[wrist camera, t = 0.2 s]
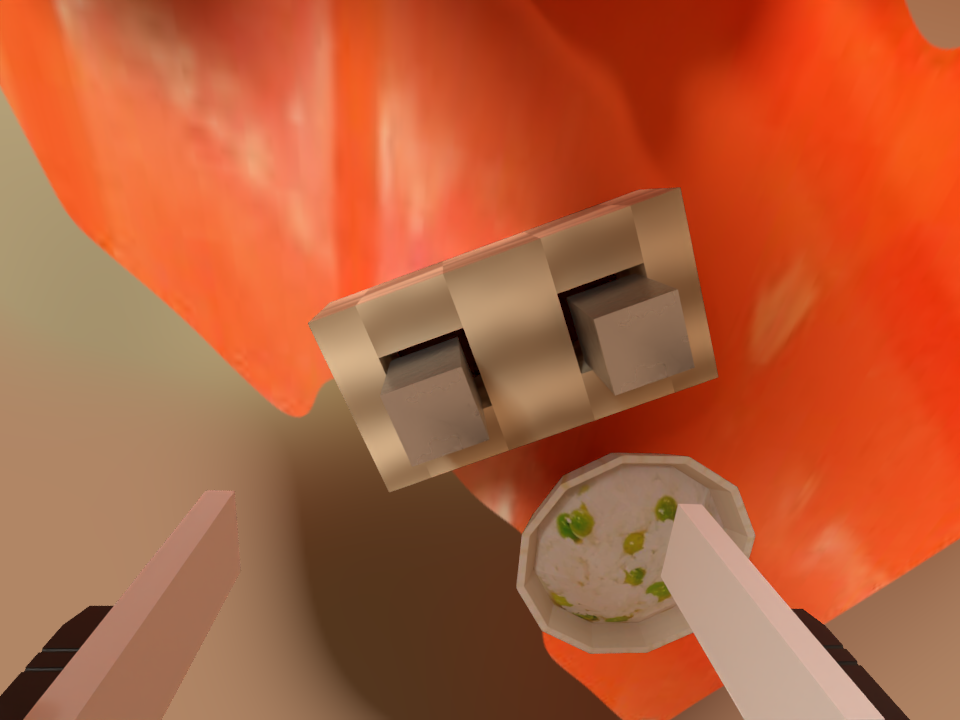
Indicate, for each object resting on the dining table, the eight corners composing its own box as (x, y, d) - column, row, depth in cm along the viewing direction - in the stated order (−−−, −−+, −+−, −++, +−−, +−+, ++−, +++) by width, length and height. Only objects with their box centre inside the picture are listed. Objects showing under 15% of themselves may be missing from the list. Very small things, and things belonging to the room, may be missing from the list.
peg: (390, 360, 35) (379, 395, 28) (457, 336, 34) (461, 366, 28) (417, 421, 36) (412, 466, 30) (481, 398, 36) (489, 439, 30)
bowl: (520, 597, 50) (538, 689, 41) (483, 429, 44) (494, 492, 35) (704, 556, 50) (766, 639, 41) (693, 383, 44) (762, 434, 35)
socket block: (330, 302, 39) (307, 323, 33) (639, 189, 39) (680, 187, 32) (396, 448, 44) (389, 492, 37) (675, 349, 43) (718, 377, 36)
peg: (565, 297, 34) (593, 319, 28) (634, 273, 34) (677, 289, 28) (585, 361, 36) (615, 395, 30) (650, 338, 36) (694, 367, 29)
